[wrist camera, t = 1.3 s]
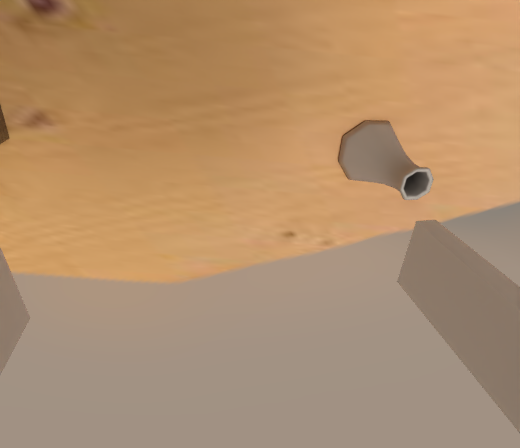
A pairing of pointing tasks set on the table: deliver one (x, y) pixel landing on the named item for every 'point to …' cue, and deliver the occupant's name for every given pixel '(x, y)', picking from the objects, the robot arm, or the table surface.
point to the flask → (382, 160)
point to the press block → (3, 128)
